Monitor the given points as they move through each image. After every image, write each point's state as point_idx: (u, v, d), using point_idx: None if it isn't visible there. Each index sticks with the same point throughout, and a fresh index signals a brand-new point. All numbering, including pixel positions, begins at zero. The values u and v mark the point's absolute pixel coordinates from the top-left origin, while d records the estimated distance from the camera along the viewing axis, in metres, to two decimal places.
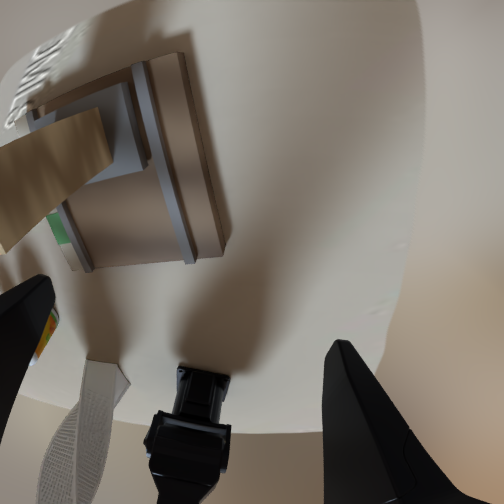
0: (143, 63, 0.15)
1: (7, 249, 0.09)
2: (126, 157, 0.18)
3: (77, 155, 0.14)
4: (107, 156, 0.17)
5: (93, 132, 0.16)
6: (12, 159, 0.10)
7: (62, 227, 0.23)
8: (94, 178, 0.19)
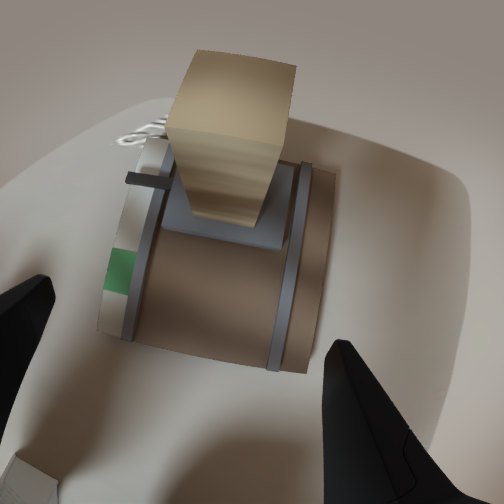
0: None
1: None
2: (270, 229, 0.20)
3: None
4: None
5: None
6: None
7: (126, 271, 0.20)
8: (222, 233, 0.20)
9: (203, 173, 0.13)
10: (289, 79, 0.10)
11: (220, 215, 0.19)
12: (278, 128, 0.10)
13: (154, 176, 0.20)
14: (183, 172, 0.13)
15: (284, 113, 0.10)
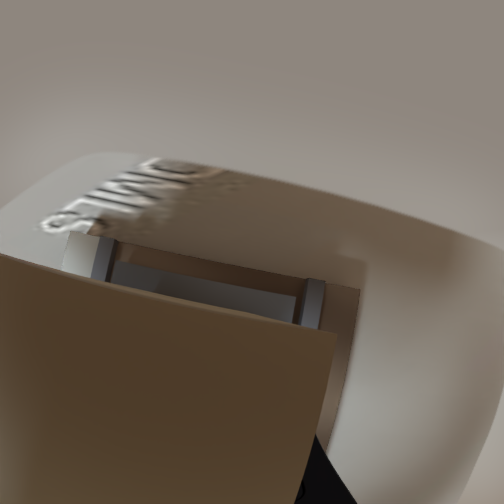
0: None
1: None
2: None
3: None
4: None
5: None
6: None
7: None
8: None
9: None
10: (290, 441, 0.02)
11: None
12: None
13: None
14: None
15: None
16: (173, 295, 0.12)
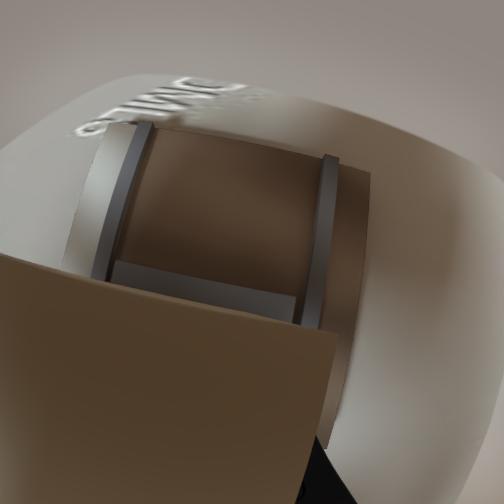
0: None
1: None
2: None
3: None
4: None
5: None
6: None
7: None
8: None
9: None
10: (291, 442, 0.02)
11: None
12: None
13: None
14: None
15: None
16: (173, 295, 0.12)
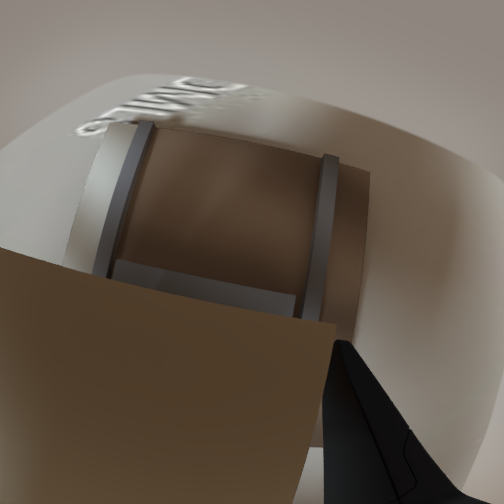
0: None
1: None
2: None
3: None
4: None
5: None
6: None
7: None
8: None
9: None
10: (291, 430, 0.02)
11: None
12: None
13: None
14: None
15: None
16: (174, 294, 0.13)
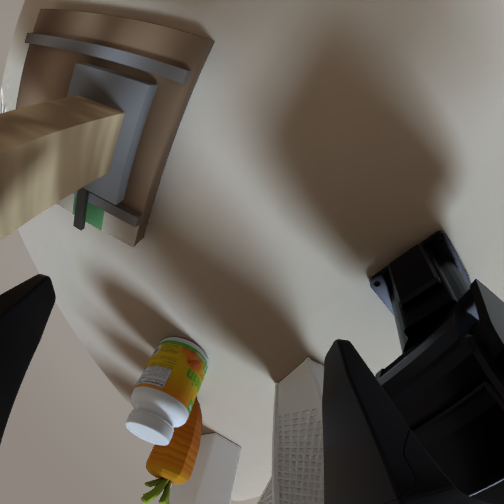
0: (30, 33, 0.13)
1: None
2: (128, 94, 0.14)
3: (64, 113, 0.12)
4: (112, 110, 0.15)
5: (81, 103, 0.14)
6: None
7: (87, 205, 0.20)
8: (126, 146, 0.16)
9: (26, 201, 0.10)
10: None
11: (102, 151, 0.15)
12: None
13: (76, 202, 0.19)
14: (30, 216, 0.11)
15: None
16: None
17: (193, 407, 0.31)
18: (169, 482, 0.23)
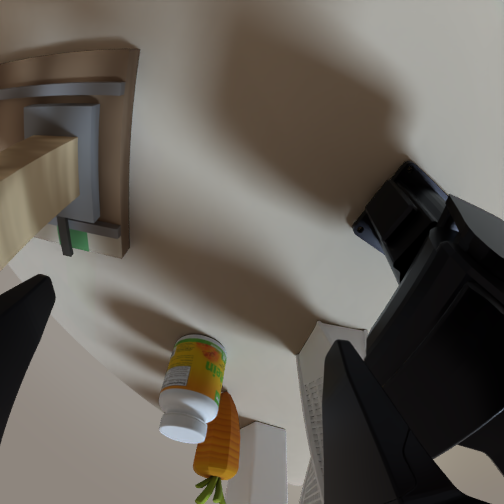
0: None
1: None
2: (76, 120, 0.15)
3: (22, 153, 0.12)
4: (65, 138, 0.15)
5: (37, 141, 0.14)
6: None
7: (70, 232, 0.21)
8: (87, 166, 0.17)
9: (7, 238, 0.11)
10: None
11: (66, 177, 0.16)
12: None
13: (59, 232, 0.20)
14: (14, 251, 0.12)
15: None
16: None
17: (225, 400, 0.32)
18: (219, 479, 0.25)
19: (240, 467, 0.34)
